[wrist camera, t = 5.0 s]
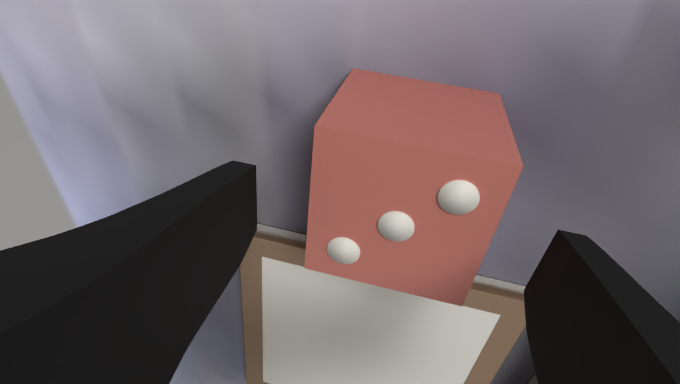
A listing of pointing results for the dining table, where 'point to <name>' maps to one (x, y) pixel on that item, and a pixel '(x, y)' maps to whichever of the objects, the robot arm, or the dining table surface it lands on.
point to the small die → (408, 184)
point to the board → (365, 324)
